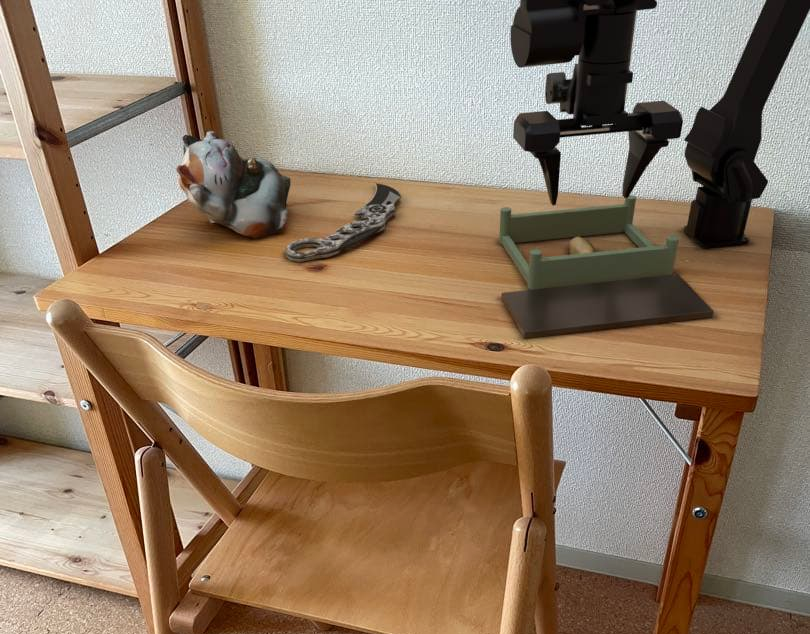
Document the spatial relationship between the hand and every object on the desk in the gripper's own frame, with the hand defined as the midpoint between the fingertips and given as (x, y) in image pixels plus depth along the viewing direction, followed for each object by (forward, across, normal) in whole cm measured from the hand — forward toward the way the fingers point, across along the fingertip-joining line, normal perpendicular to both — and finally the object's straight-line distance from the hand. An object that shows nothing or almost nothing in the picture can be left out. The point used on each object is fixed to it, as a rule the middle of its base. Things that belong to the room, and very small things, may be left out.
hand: (589, 200), depth 104 cm
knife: (+8, +27, -18) cm, 33 cm away
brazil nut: (+7, 0, 0) cm, 7 cm away
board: (+7, +2, +14) cm, 16 cm away
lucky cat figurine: (+7, +43, -22) cm, 49 cm away
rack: (+7, 0, 0) cm, 7 cm away
